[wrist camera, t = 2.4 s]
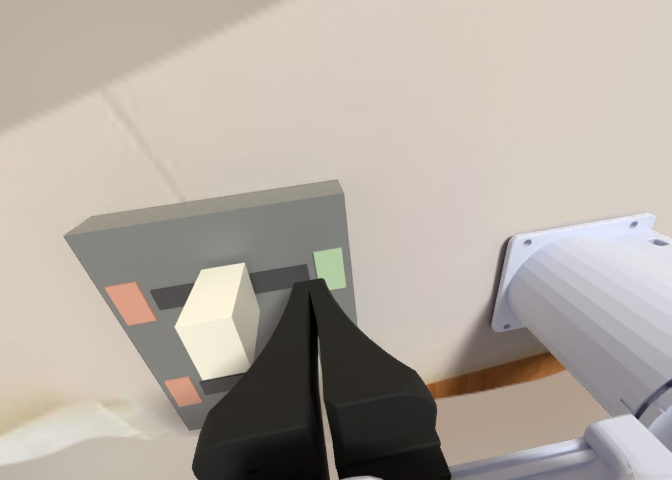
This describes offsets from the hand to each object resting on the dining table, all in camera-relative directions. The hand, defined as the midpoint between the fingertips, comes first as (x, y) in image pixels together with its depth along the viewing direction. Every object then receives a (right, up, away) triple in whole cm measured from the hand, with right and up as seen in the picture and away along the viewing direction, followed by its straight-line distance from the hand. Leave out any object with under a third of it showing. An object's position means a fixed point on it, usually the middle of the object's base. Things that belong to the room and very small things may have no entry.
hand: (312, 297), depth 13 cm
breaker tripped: (-4, 0, +1) cm, 4 cm away
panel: (-4, -2, +5) cm, 6 cm away
